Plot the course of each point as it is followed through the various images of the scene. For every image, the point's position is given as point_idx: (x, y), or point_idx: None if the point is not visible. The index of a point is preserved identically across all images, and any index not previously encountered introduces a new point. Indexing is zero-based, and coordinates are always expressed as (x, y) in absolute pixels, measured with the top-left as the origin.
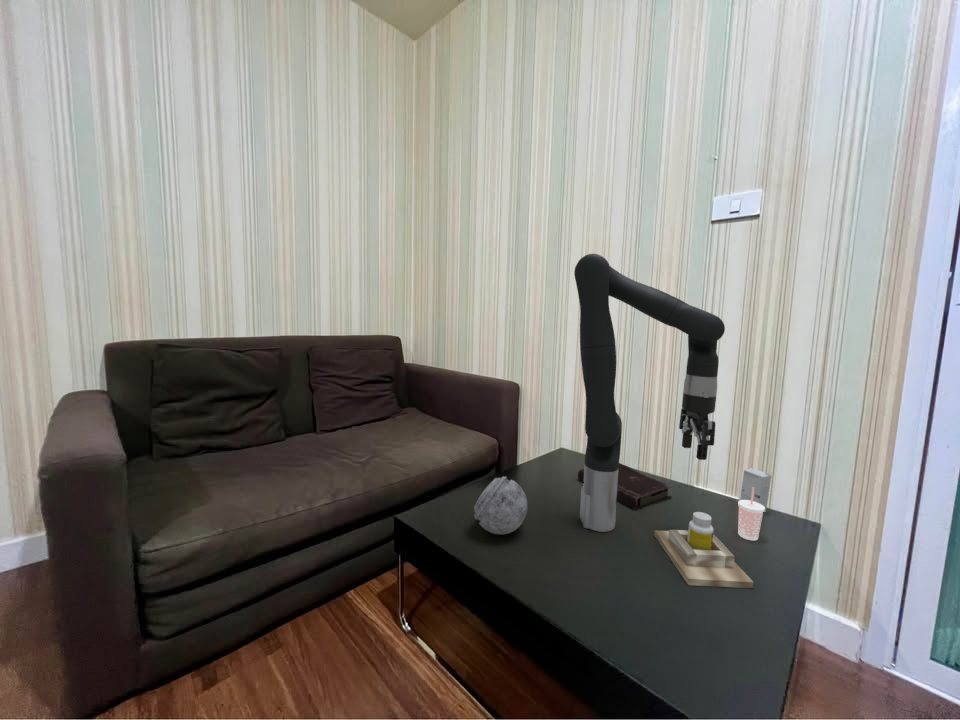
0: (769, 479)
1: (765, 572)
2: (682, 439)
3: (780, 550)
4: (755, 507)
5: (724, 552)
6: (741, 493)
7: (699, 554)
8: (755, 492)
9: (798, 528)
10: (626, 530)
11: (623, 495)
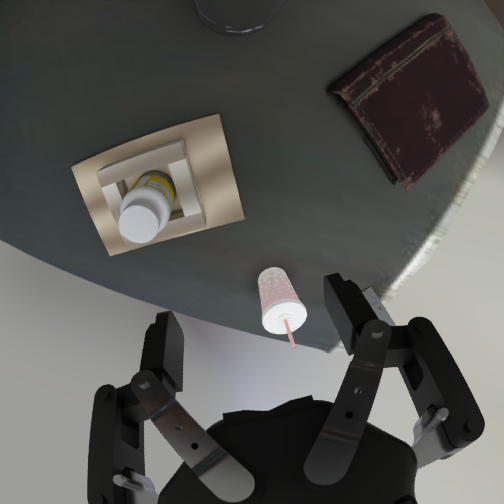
0: None
1: (164, 276)
2: (352, 296)
3: (239, 307)
4: (276, 322)
5: None
6: (379, 301)
7: (103, 192)
8: None
9: (310, 336)
10: (223, 58)
11: (360, 70)
